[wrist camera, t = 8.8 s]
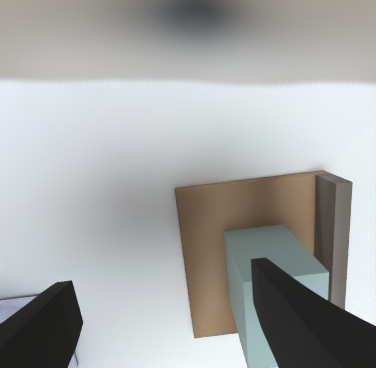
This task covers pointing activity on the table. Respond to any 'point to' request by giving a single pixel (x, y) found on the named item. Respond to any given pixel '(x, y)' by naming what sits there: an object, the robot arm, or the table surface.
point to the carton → (242, 280)
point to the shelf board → (252, 218)
